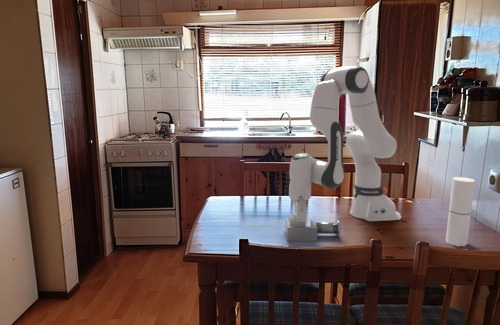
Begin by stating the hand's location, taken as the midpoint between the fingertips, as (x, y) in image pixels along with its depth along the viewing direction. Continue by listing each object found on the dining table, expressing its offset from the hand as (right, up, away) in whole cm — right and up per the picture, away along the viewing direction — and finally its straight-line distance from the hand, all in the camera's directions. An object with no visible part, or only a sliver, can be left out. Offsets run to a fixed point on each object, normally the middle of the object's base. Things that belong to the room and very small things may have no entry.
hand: (298, 225), depth 152 cm
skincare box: (-1, -3, -4) cm, 6 cm away
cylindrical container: (+59, -5, -11) cm, 60 cm away
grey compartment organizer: (+5, -3, -6) cm, 8 cm away
